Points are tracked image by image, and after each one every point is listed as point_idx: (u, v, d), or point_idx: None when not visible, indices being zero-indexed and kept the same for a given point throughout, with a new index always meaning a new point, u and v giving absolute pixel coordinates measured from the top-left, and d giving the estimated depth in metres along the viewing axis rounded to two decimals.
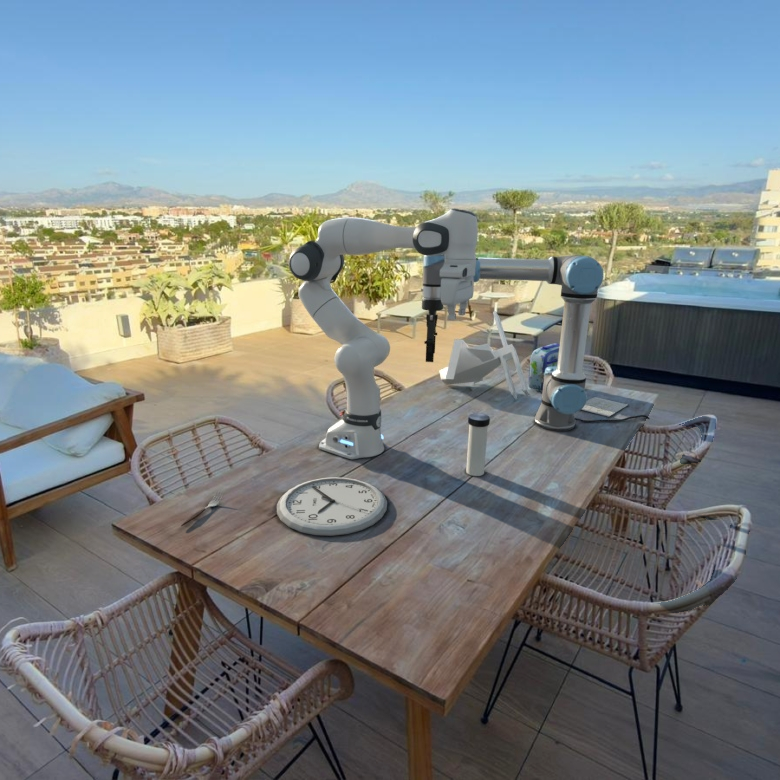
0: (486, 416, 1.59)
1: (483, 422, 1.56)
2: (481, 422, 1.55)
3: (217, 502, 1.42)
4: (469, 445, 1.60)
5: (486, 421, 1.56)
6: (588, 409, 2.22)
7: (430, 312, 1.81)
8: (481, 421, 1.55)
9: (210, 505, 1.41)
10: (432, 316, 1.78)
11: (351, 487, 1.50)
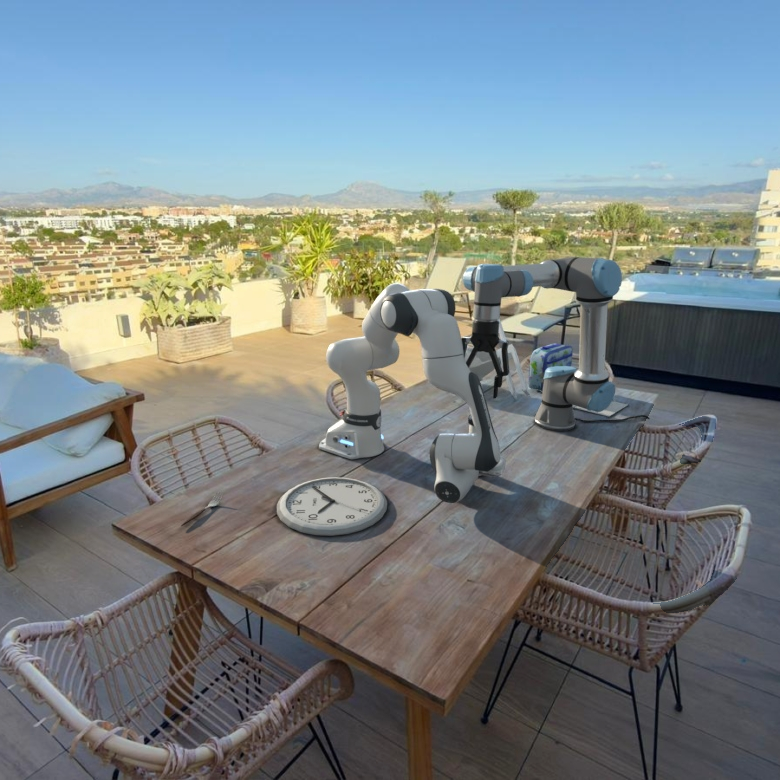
0: None
1: None
2: None
3: (217, 502, 1.42)
4: None
5: None
6: None
7: None
8: None
9: (210, 505, 1.41)
10: None
11: (351, 487, 1.50)
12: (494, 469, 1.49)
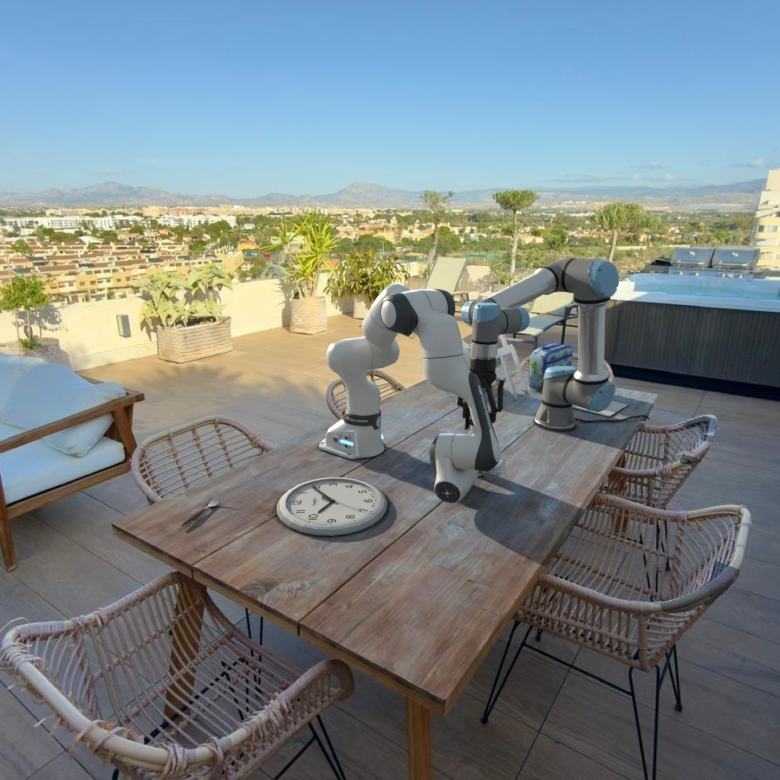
0: None
1: None
2: None
3: (217, 502, 1.42)
4: None
5: None
6: None
7: None
8: None
9: (210, 505, 1.41)
10: None
11: (351, 487, 1.50)
12: (494, 469, 1.49)
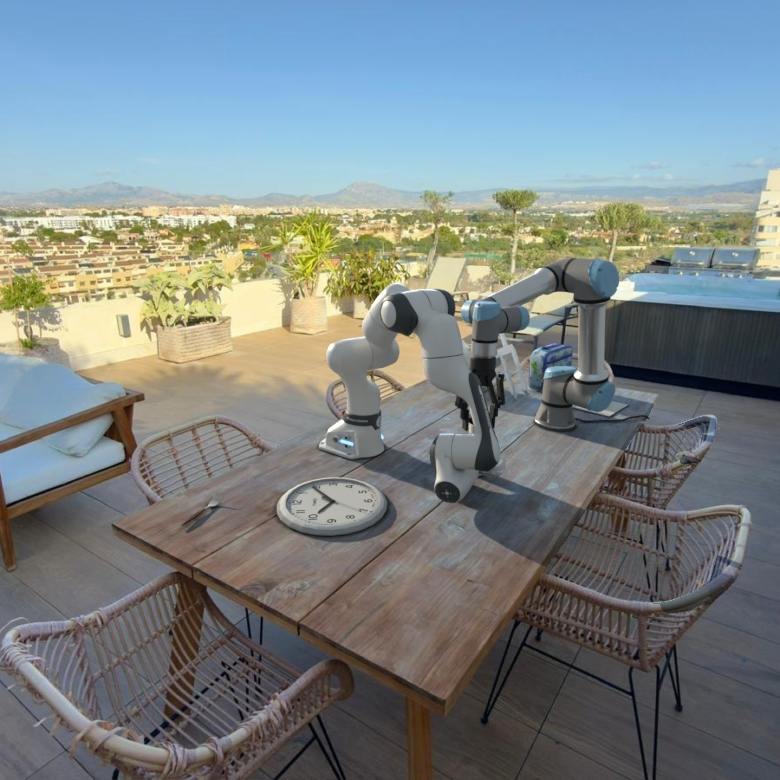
0: None
1: None
2: None
3: (217, 502, 1.42)
4: None
5: None
6: None
7: (470, 370, 1.53)
8: None
9: (210, 505, 1.41)
10: None
11: (351, 487, 1.50)
12: (494, 469, 1.49)
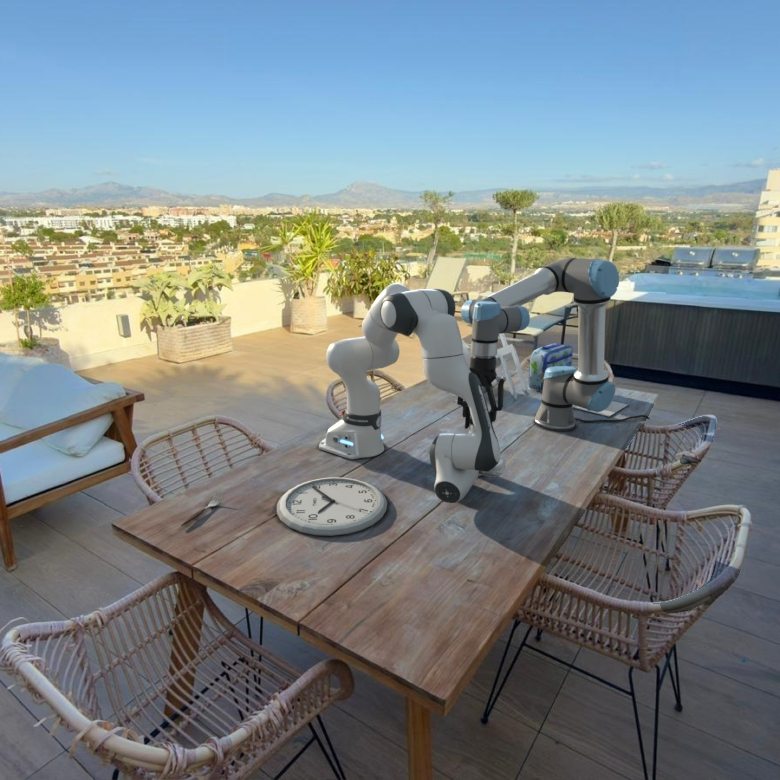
0: None
1: None
2: None
3: (217, 502, 1.42)
4: None
5: None
6: None
7: None
8: None
9: (210, 505, 1.41)
10: None
11: (351, 487, 1.50)
12: (494, 469, 1.49)
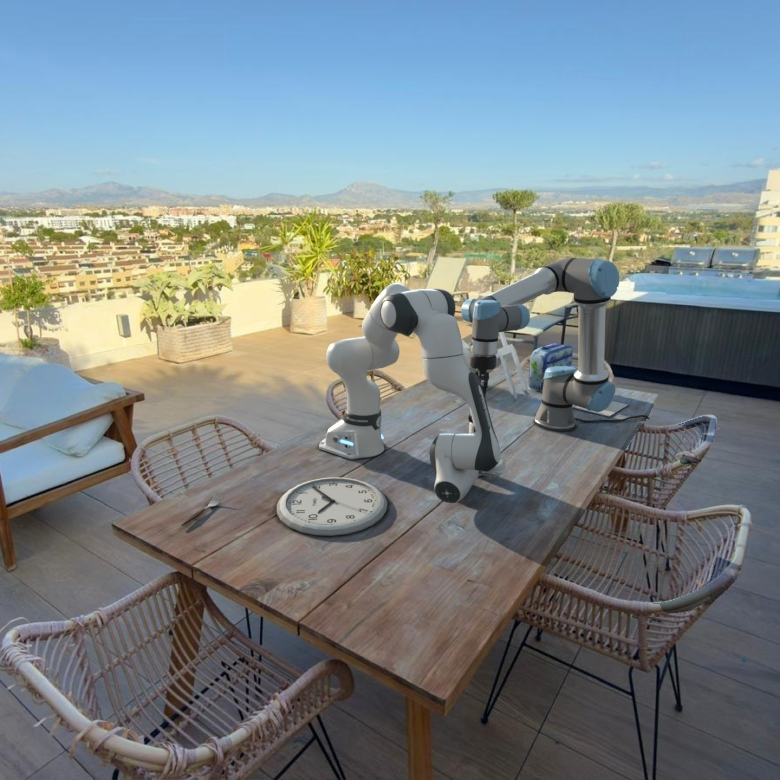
0: None
1: None
2: None
3: (217, 502, 1.42)
4: None
5: None
6: None
7: (481, 371, 1.50)
8: None
9: (210, 505, 1.41)
10: (483, 382, 1.48)
11: (351, 487, 1.50)
12: (494, 469, 1.49)
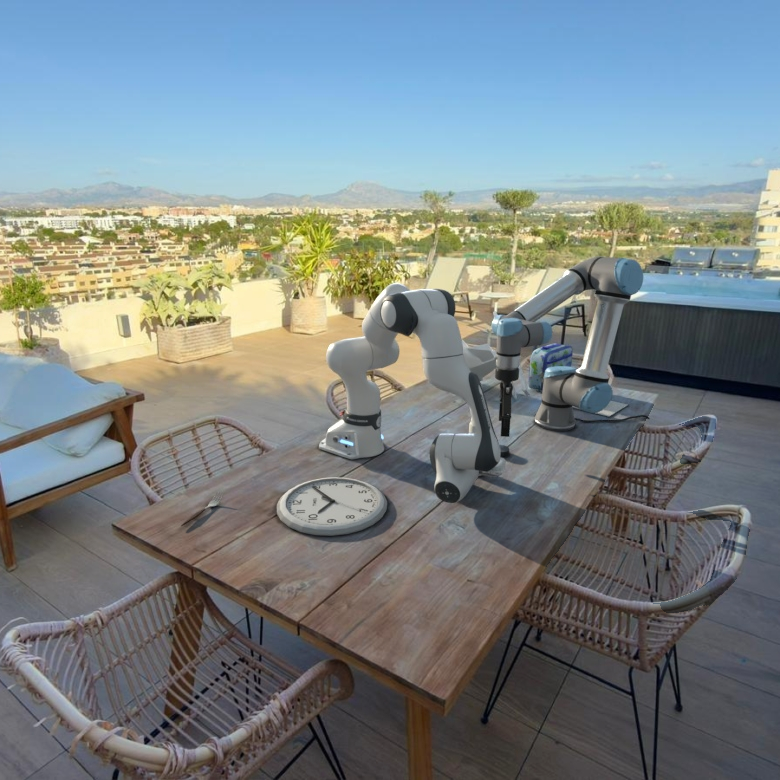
0: None
1: None
2: None
3: (217, 502, 1.42)
4: None
5: None
6: None
7: (505, 383, 1.66)
8: None
9: (210, 505, 1.41)
10: (509, 389, 1.64)
11: (351, 487, 1.50)
12: (494, 469, 1.49)
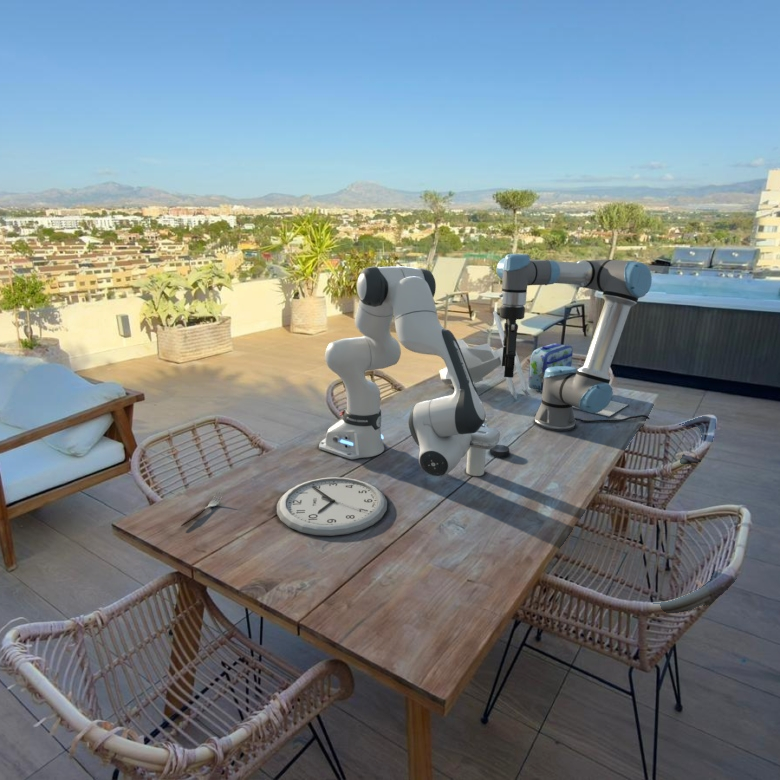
0: (495, 449, 1.75)
1: None
2: None
3: (217, 502, 1.42)
4: None
5: None
6: None
7: (510, 321, 1.60)
8: None
9: (210, 505, 1.41)
10: (514, 326, 1.58)
11: (351, 487, 1.50)
12: (487, 440, 1.34)
